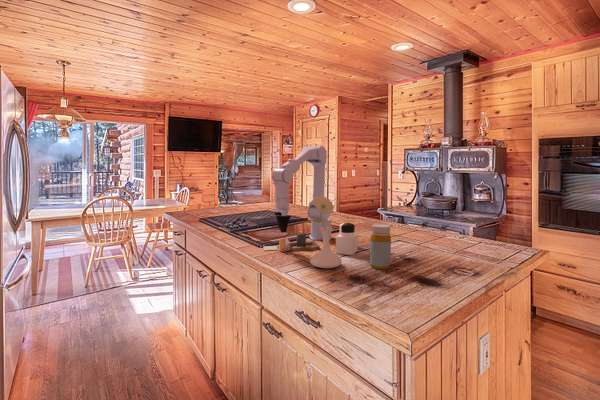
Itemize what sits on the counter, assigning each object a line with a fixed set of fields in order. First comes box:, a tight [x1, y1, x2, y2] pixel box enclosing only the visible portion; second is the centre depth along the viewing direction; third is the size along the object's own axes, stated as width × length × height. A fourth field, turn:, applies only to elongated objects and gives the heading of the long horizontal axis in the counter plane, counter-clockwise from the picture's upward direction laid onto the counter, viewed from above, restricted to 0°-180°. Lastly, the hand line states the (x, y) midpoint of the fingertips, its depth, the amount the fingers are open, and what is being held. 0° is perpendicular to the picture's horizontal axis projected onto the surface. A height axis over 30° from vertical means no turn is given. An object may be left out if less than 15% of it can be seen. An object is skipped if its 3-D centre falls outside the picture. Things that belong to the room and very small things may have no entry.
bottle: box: [369, 223, 392, 271], centre depth 120 cm, size 7×7×15 cm
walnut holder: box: [289, 240, 321, 252], centre depth 148 cm, size 12×10×1 cm
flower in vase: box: [309, 196, 343, 269], centre depth 121 cm, size 13×11×25 cm
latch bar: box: [278, 237, 291, 252], centre depth 145 cm, size 4×10×5 cm, turn 10°
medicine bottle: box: [335, 222, 359, 256], centre depth 139 cm, size 7×7×12 cm
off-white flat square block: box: [262, 245, 278, 252], centre depth 145 cm, size 6×6×1 cm
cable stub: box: [296, 232, 307, 247], centre depth 147 cm, size 4×4×6 cm
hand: (282, 230), depth 141 cm, fingers open, 7 cm apart
